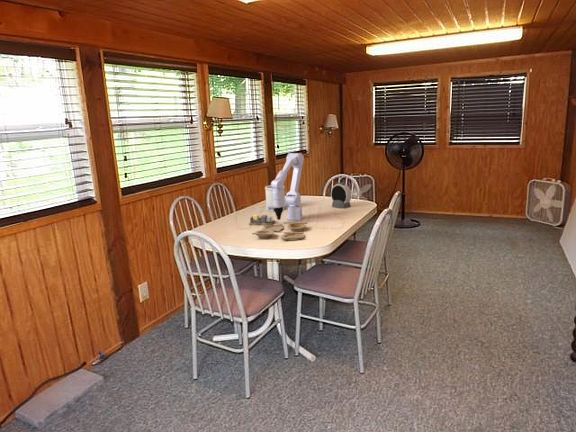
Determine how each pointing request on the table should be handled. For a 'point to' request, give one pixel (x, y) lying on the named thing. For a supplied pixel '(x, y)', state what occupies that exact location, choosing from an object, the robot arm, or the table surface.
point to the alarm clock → (341, 195)
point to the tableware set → (270, 229)
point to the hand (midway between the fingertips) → (278, 219)
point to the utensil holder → (270, 196)
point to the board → (263, 223)
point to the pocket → (255, 220)
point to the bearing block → (263, 218)
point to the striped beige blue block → (268, 219)
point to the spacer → (255, 217)
